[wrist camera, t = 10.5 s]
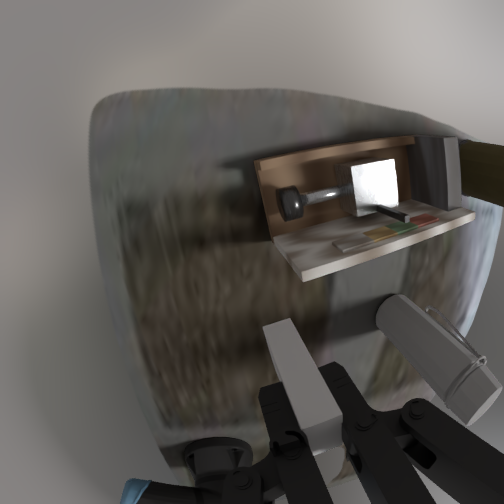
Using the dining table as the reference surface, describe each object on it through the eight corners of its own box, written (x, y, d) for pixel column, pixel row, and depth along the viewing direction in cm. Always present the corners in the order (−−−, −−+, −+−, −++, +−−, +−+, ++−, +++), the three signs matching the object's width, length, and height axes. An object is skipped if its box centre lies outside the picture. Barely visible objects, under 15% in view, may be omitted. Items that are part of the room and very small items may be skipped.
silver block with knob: (281, 225, 32) (310, 253, 23) (271, 178, 30) (298, 188, 21) (379, 199, 33) (427, 216, 24) (374, 157, 31) (424, 163, 22)
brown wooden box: (271, 240, 34) (303, 282, 23) (253, 160, 30) (280, 164, 20) (419, 200, 36) (474, 219, 25) (412, 134, 32) (472, 138, 22)
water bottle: (378, 336, 44) (461, 435, 21) (367, 308, 41) (466, 418, 18) (416, 306, 43) (507, 388, 20) (409, 275, 40) (518, 361, 17)
